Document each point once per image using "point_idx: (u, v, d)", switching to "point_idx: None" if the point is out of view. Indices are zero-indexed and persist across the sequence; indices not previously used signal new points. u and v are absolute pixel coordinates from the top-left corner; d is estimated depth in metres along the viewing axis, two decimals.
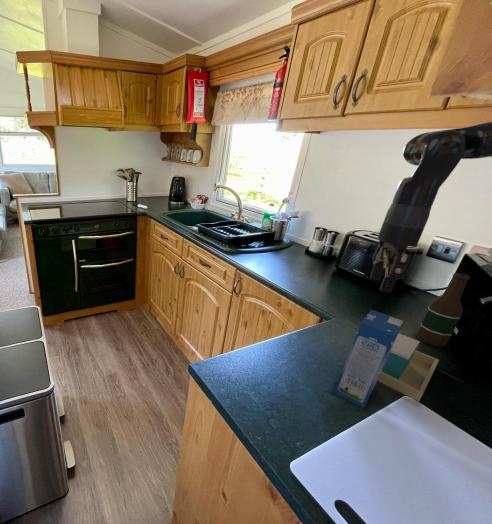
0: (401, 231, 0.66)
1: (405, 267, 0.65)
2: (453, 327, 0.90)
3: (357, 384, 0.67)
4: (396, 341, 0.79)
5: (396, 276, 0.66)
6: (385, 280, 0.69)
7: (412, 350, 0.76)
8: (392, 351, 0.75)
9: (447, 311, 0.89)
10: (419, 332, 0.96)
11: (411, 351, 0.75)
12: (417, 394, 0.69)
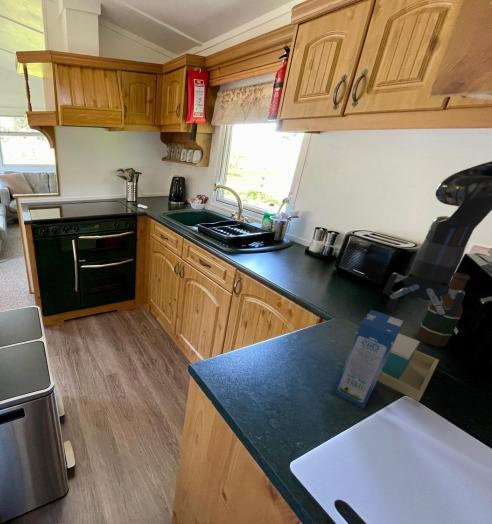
0: (452, 270, 0.67)
1: None
2: (453, 327, 0.90)
3: (357, 384, 0.67)
4: (396, 341, 0.79)
5: (456, 313, 0.69)
6: (438, 317, 0.71)
7: (412, 350, 0.76)
8: (392, 351, 0.75)
9: None
10: (419, 332, 0.96)
11: (411, 351, 0.75)
12: (417, 394, 0.69)
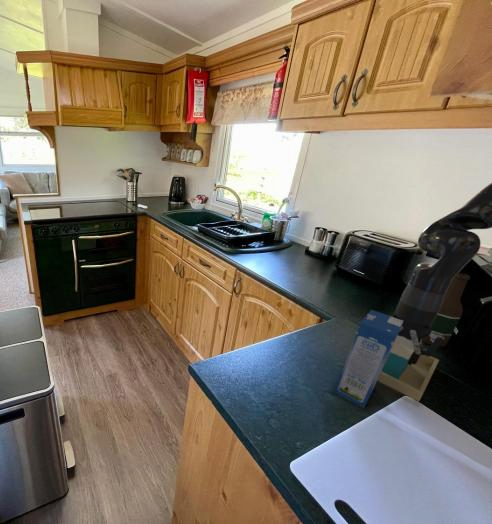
0: (434, 314, 0.71)
1: None
2: (453, 327, 0.90)
3: (357, 384, 0.67)
4: (396, 341, 0.79)
5: (431, 354, 0.74)
6: (415, 356, 0.76)
7: (412, 350, 0.76)
8: (392, 351, 0.75)
9: (447, 311, 0.89)
10: None
11: (411, 351, 0.75)
12: (417, 394, 0.69)
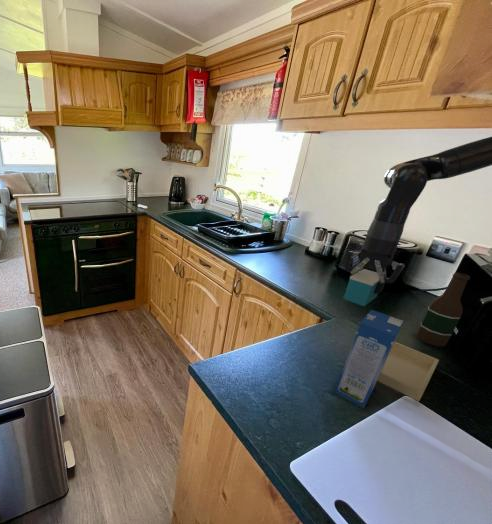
0: (394, 244, 0.80)
1: None
2: (453, 327, 0.90)
3: (357, 384, 0.67)
4: (364, 274, 0.88)
5: (393, 281, 0.82)
6: (380, 285, 0.85)
7: (377, 279, 0.84)
8: (359, 280, 0.84)
9: (447, 311, 0.89)
10: (419, 332, 0.96)
11: (376, 280, 0.84)
12: (417, 394, 0.69)
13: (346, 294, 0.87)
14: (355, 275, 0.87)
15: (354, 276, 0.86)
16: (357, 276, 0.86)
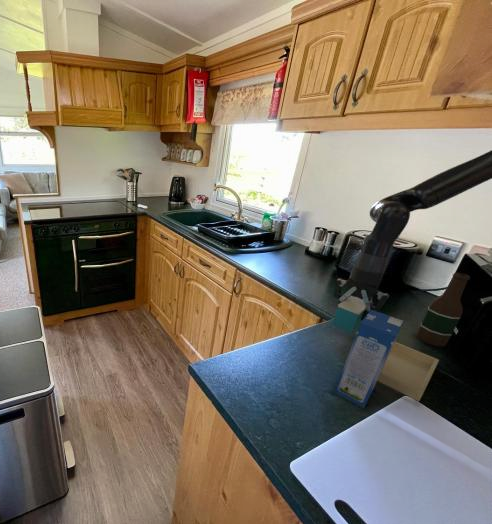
0: (379, 275, 0.84)
1: None
2: (453, 327, 0.90)
3: (357, 384, 0.67)
4: (352, 301, 0.92)
5: None
6: (366, 313, 0.89)
7: (363, 308, 0.89)
8: (346, 308, 0.88)
9: (447, 311, 0.89)
10: (419, 332, 0.96)
11: (362, 308, 0.88)
12: (417, 394, 0.69)
13: (334, 321, 0.91)
14: (343, 303, 0.91)
15: (342, 304, 0.90)
16: (345, 304, 0.90)
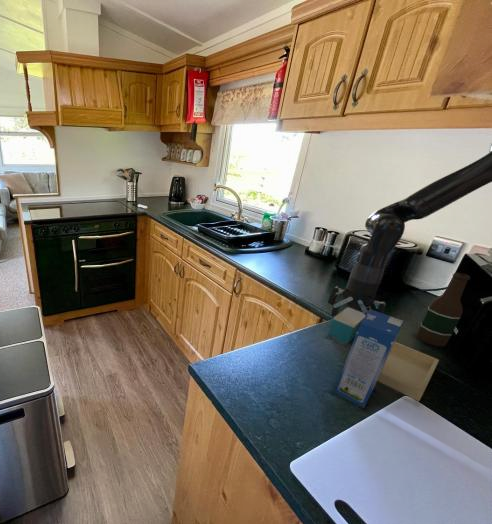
0: (375, 286, 0.86)
1: (383, 311, 0.87)
2: (453, 327, 0.90)
3: (357, 384, 0.67)
4: (347, 314, 0.94)
5: None
6: None
7: (359, 320, 0.90)
8: (342, 321, 0.90)
9: (447, 311, 0.89)
10: (419, 332, 0.96)
11: (358, 321, 0.90)
12: (417, 394, 0.69)
13: (330, 333, 0.93)
14: (338, 315, 0.92)
15: (337, 317, 0.92)
16: (340, 316, 0.92)
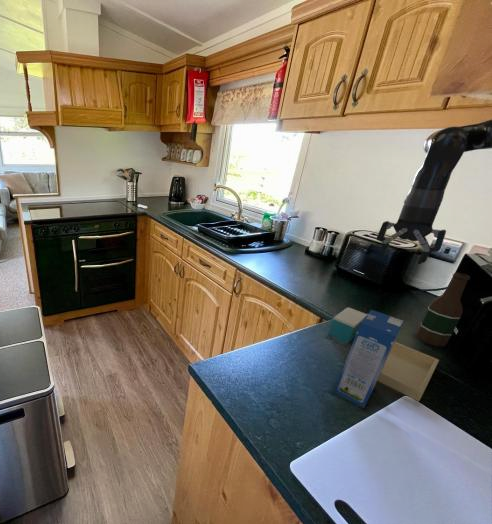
0: (434, 212, 0.79)
1: None
2: (453, 327, 0.90)
3: (357, 384, 0.67)
4: (347, 314, 0.94)
5: (439, 249, 0.80)
6: (424, 254, 0.82)
7: (359, 320, 0.90)
8: (342, 321, 0.90)
9: (447, 311, 0.89)
10: (419, 332, 0.96)
11: (358, 321, 0.90)
12: (417, 394, 0.69)
13: (330, 333, 0.93)
14: (338, 315, 0.92)
15: (337, 317, 0.92)
16: (340, 316, 0.92)
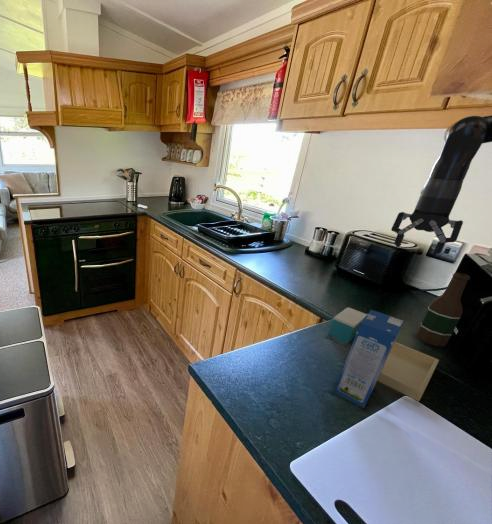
0: (452, 202, 0.79)
1: (459, 231, 0.80)
2: (453, 327, 0.90)
3: (357, 384, 0.67)
4: (347, 314, 0.94)
5: (455, 240, 0.80)
6: (440, 245, 0.82)
7: (359, 320, 0.90)
8: (342, 321, 0.90)
9: (447, 311, 0.89)
10: (419, 332, 0.96)
11: (358, 321, 0.90)
12: (417, 394, 0.69)
13: (330, 333, 0.93)
14: (338, 315, 0.92)
15: (337, 317, 0.92)
16: (340, 316, 0.92)
